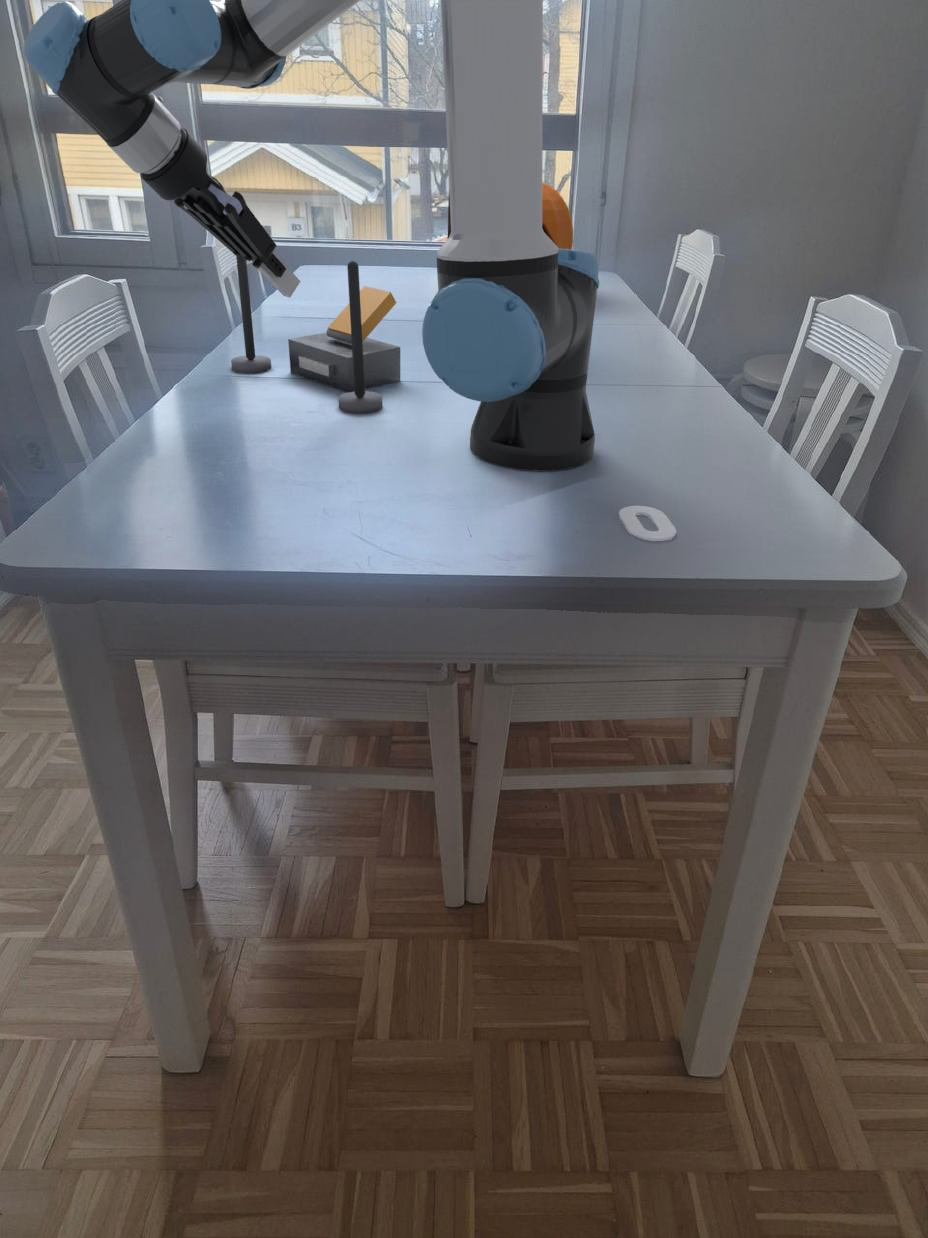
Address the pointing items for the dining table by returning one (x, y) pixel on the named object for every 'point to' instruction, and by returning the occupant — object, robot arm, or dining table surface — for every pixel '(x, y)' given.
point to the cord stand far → (247, 328)
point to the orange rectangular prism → (363, 314)
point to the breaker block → (343, 361)
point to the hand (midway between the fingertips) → (292, 288)
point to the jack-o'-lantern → (556, 218)
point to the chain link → (656, 516)
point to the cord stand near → (357, 354)
